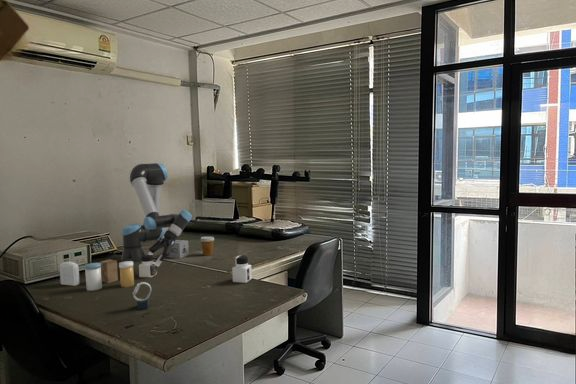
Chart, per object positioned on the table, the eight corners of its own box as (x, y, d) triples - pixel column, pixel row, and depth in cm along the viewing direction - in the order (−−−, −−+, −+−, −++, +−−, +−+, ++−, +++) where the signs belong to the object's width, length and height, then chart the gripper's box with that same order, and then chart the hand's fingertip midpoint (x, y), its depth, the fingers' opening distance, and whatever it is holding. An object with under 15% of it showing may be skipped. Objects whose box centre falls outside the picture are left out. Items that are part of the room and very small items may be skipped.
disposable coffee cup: (217, 253, 289) (217, 236, 288) (209, 256, 280) (208, 239, 279) (206, 252, 293) (205, 235, 292) (198, 255, 284) (197, 238, 283)
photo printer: (81, 283, 225) (79, 261, 224) (74, 286, 221) (73, 263, 220) (65, 282, 228) (64, 260, 227) (59, 285, 224) (57, 262, 223)
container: (252, 278, 224) (251, 255, 223) (246, 283, 217) (245, 258, 216) (239, 278, 227) (238, 254, 226) (232, 282, 219) (231, 257, 218)
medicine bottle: (150, 277, 233) (149, 256, 232) (139, 277, 234) (137, 256, 233) (157, 274, 240) (156, 253, 239) (146, 273, 241) (144, 253, 240)
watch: (133, 306, 186) (132, 282, 186) (152, 304, 189) (151, 280, 188) (132, 310, 181) (131, 285, 180) (152, 308, 183) (150, 283, 182)
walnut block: (101, 281, 228) (100, 261, 227) (110, 278, 233) (109, 259, 232) (108, 283, 225) (107, 262, 224) (117, 280, 230) (116, 260, 229)
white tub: (83, 288, 216) (82, 264, 215) (99, 285, 221) (97, 261, 220) (89, 291, 210) (87, 267, 209) (104, 288, 215) (103, 264, 215)
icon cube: (167, 257, 282) (166, 242, 282) (176, 254, 292) (175, 239, 291) (180, 258, 279) (179, 243, 278) (188, 254, 288) (188, 240, 287)
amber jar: (118, 285, 220) (116, 263, 219) (131, 282, 225) (129, 260, 224) (123, 288, 215) (122, 265, 214) (136, 284, 220) (135, 262, 219)
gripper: (188, 239, 239) (165, 270, 230) (166, 235, 257) (144, 264, 248) (179, 231, 235) (156, 263, 226) (157, 227, 253) (135, 257, 243)
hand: (150, 263), depth 237 cm, fingers open, 13 cm apart
